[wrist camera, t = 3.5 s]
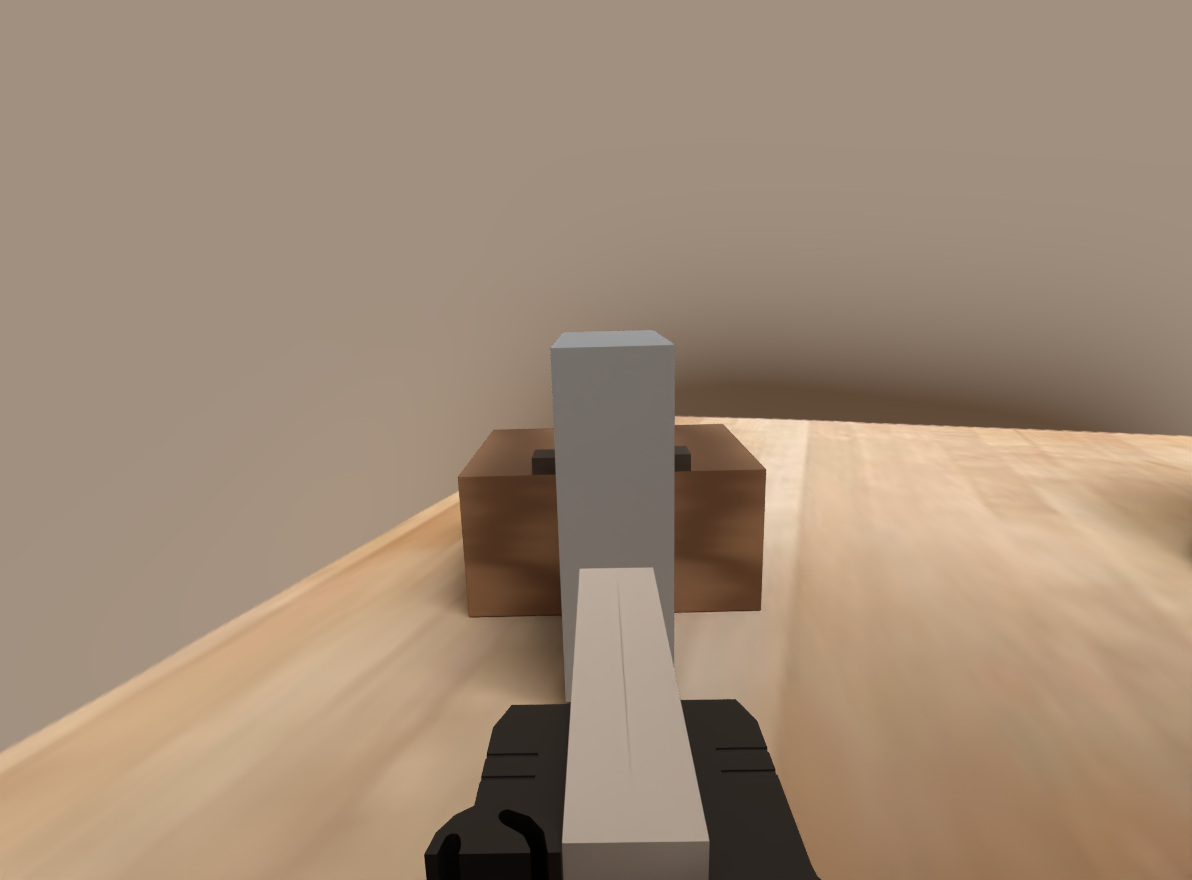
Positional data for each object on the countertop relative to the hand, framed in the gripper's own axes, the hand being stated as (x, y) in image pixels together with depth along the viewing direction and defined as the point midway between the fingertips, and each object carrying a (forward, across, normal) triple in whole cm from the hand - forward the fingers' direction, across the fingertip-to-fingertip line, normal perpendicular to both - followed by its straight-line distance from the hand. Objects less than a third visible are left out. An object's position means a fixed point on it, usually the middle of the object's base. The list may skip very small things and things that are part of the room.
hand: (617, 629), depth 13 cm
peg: (+13, 0, -8) cm, 15 cm away
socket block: (+21, 0, -8) cm, 22 cm away
